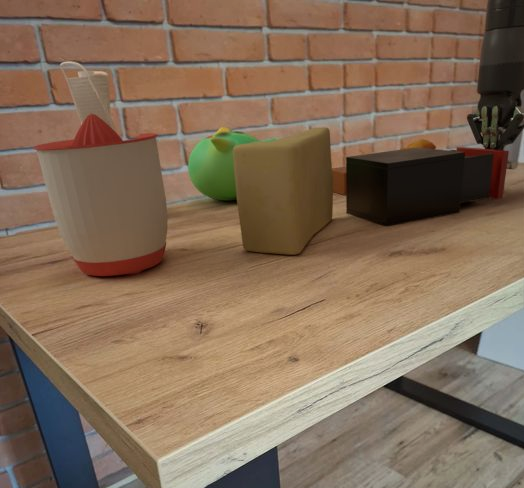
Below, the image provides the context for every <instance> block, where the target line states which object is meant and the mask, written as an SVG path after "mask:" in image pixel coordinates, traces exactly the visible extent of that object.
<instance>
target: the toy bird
mask: <svg viewBox="0 0 524 488" xmlns="http://www.w3.org/2000/svg"><path fill="white" fill-rule="evenodd" d="M281 138H282V137H273V138H268V139H263V140H259V139H258V138H257V137H255V136H253V135H251V134H249V133H246V132H243V131H237V130H233V131H232V130H231V129H230V128H229V127H227V126H221V127H219V129H217V131H216V132H215V133H214V134H210V135H208V136H207V137H204V138H203V139H201V140H200V141H199V142H198V143H197V144H196V145H195V146H194V147H193V148H192V151H191V153H190V155H189V158H188V163H187V165H188V166H187V170H188V171H187V172H188V175H189V178H190V181H191V183H192V185H193V186H194V187H195V189H196V190H198V192H200V193H201V194H202V195H204V196H206V197H207V198H210V199H213V200H218V201H237V195H236V185H235V174H234V162H233V149H234V147H235V146H238V145H241V144H247V143H254V142H266V141H273V140H277V139H281Z"/></svg>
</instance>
